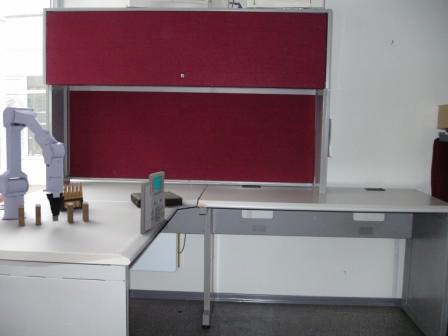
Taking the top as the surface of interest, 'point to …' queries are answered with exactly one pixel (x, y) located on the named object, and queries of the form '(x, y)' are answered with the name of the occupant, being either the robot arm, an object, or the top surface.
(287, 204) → the top surface
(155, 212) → the office telephone
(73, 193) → the ammunition clip
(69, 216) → the walnut domino
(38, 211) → the walnut domino
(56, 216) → the charcoal domino
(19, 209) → the walnut domino
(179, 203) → the network switch
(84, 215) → the walnut domino
